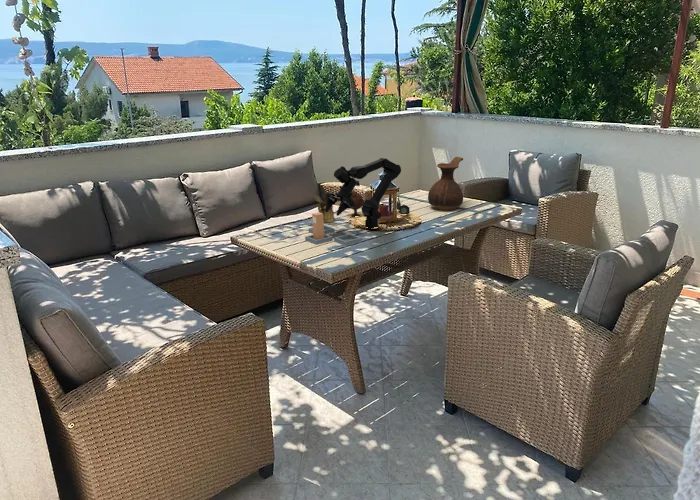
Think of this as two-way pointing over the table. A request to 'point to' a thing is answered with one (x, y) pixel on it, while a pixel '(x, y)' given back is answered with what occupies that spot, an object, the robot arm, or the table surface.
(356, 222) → the table surface
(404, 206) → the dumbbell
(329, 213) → the wooden mug
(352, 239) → the empty tray
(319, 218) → the orange block
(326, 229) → the empty tray
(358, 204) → the ice cream bowl
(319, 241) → the tray
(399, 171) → the robot arm
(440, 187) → the jug
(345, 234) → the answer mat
